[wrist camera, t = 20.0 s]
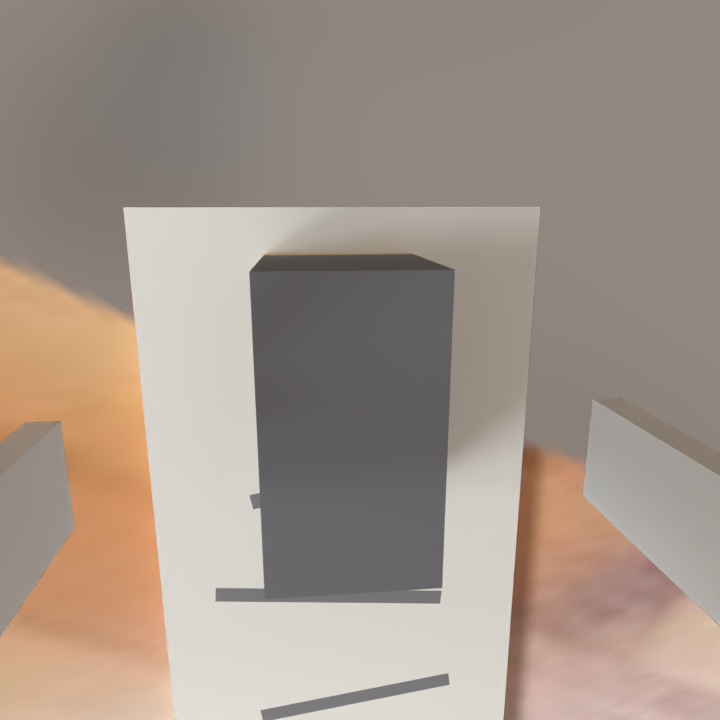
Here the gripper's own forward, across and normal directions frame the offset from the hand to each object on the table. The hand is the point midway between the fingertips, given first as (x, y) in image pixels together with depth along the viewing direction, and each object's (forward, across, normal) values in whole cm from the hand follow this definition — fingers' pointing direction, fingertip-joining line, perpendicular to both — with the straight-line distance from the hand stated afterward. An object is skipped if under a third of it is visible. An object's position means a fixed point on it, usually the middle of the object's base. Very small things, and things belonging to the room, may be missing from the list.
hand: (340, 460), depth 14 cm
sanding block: (+7, 0, 0) cm, 7 cm away
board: (+8, +1, -10) cm, 13 cm away
